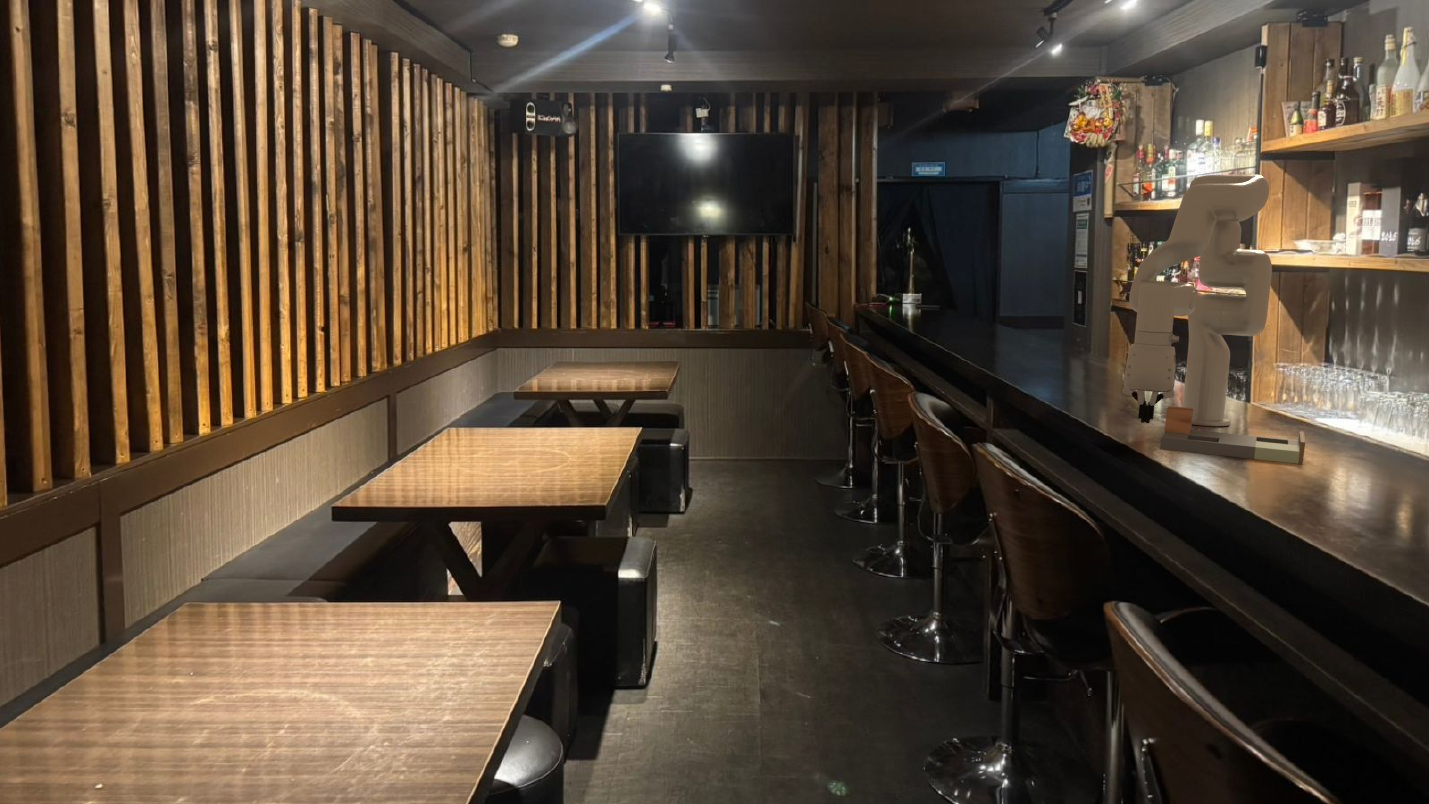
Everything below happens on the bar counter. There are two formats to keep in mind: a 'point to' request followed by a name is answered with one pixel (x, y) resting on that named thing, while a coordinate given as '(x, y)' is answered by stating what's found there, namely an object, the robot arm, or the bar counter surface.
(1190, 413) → the block
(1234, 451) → the deck
